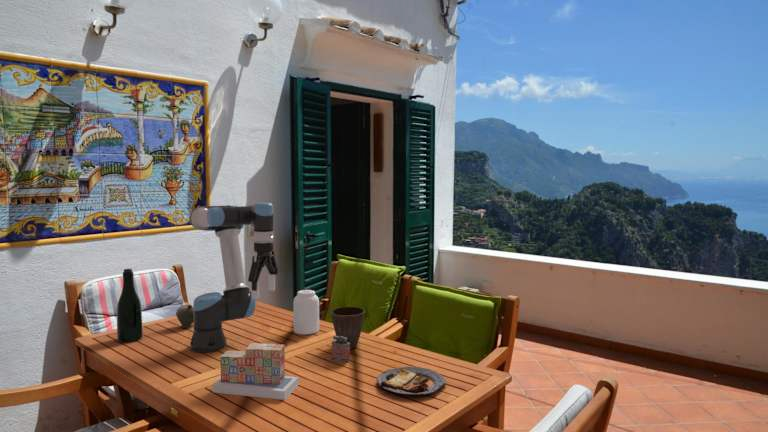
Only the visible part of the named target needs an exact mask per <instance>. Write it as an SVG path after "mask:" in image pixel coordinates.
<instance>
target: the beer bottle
mask: <svg viewBox="0 0 768 432" xmlns="http://www.w3.org/2000/svg"><path fill="white" fill-rule="evenodd" d="M116 337H117V341H118V342H121V343H132V342H137V341H139V340H142V338H143V337H144V333H143V312H142V303H141V299H140V298H139V296H138V293H137V291H136V288H135V283H134V271H133V268H125V269H123V272H122V290H121V293H120V296H119V299H118V302H117V306H116Z"/></svg>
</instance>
